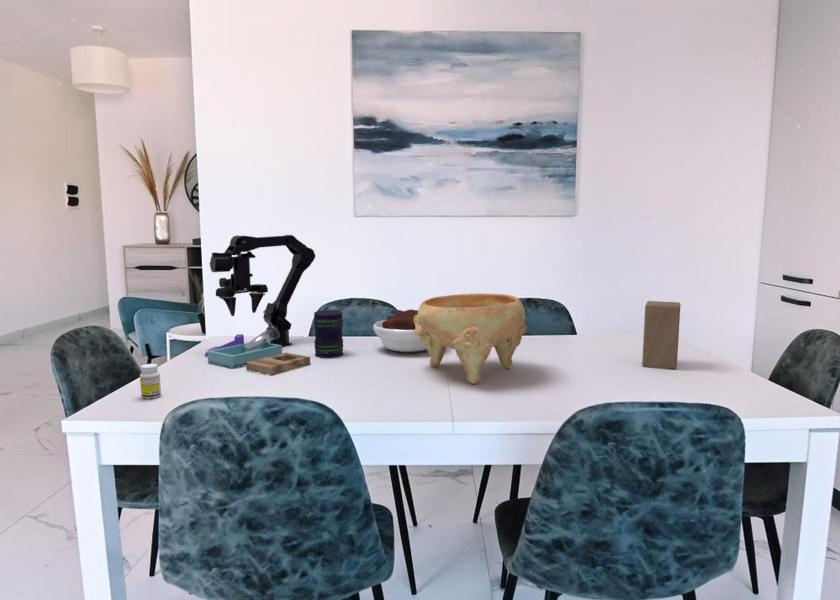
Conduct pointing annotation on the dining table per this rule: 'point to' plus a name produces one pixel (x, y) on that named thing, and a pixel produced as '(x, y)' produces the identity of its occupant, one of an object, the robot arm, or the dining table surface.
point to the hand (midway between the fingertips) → (243, 314)
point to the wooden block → (661, 334)
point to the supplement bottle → (150, 381)
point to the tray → (241, 355)
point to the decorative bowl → (471, 328)
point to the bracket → (230, 343)
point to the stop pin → (262, 339)
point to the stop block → (278, 363)
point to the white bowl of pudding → (399, 332)
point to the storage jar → (328, 334)
